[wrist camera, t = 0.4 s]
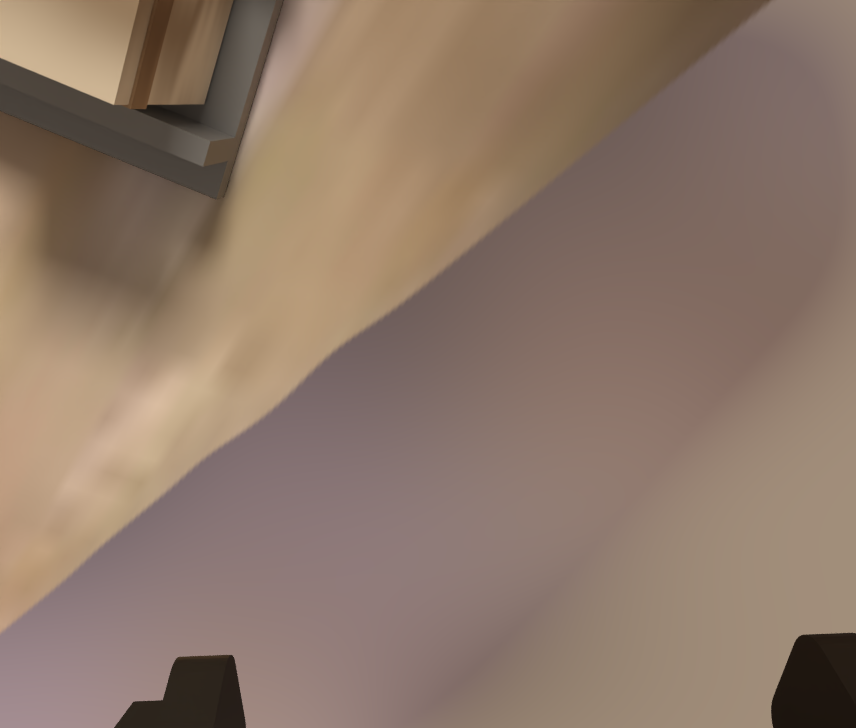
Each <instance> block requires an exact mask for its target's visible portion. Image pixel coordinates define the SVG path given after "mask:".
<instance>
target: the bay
mask: <svg viewBox="0 0 856 728" xmlns="http://www.w3.org/2000/svg"><path fill="white" fill-rule="evenodd" d="M282 3H283V0H233V4H232V7H231V11H230V14H229V18H228V21H227V25H226V29H225V32H224V36H223V39H222V43H221V46H220V50H219V53H218V57H217V60H216V64H215V68H214V71H213V75H212V78H211V82H210V85H209V89H208V92H207V96H206V99H205V103H204V104H182V105H147V108H146V109H129V108H127V107H124V106H122V105H113V104H110V103H108V102H106V101H103V100H101V99H98V98H96V97H94V96H91V95H89V94H86V93H84V92H81V91H79V90H77V89H74V88H72V87H69V86H67V85H65V84H62V83H60V82H57V81H55V80H53V79H50V78H48V77H45V76H43V75H40V74H38V73H36V72H33V71H31V70H28V69H26V68H24V67H21V66H19V65H16V64H14V63H11V62H9V61H7V60H4V59H2V58H0V111H2V112H4V113H6V114H9V115H11V116H14V117H16V118H19V119H21V120H24V121H26V122H28V123H31V124H33V125H36V126H38V127H41V128H43V129H45V130H48V131H50V132H53V133H55V134H58V135H60V136H63V137H65V138H67V139H70V140H72V141H75V142H77V143H80V144H82V145H85V146H87V147H89V148H92V149H94V150H97V151H99V152H102V153H104V154H107V155H109V156H111V157H114V158H116V159H119V160H121V161H124V162H126V163H129V164H131V165H133V166H136V167H138V168H141V169H143V170H146V171H148V172H151V173H153V174H155V175H158V176H160V177H163V178H165V179H168V180H170V181H172V182H175V183H177V184H180V185H182V186H185V187H187V188H190V189H192V190H194V191H197V192H199V193H202V194H204V195H207V196H209V197H212V198H214V199H219V198H222V197H224V195H225V191H226V188H227V185H228V182H229V178H230V175H231V172H232V168H233V165H234V162H235V158H236V155H237V152H238V149H239V145H240V142H241V139H242V135H243V132H244V129H245V125H246V122H247V119H248V115H249V112H250V109H251V106H252V102H253V99H254V96H255V92H256V89H257V86H258V82H259V79H260V76H261V73H262V69H263V66H264V63H265V59H266V56H267V53H268V49H269V46H270V43H271V40H272V36H273V33H274V30H275V26H276V23H277V20H278V16H279V13H280V10H281V6H282Z"/></svg>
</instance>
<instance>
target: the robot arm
mask: <svg viewBox="0 0 856 728" xmlns="http://www.w3.org/2000/svg"><path fill="white" fill-rule="evenodd" d="M771 714H772V724H773V728H856V633H839V634H838V633H837V634H812V635H801V636H799V637H798V638H797V639H796V641H795V643H794V646H793V648H792V651H791V653H790V656H789V658H788V661H787V663H786V666H785V669H784V671H783V674H782V676H781V679H780V682H779V684H778V686H777V689H776V692H775V694H774V697H773V700H772V706H771ZM114 728H246V724H245V717H244V710H243V705H242V699H241V693H240V687H239V682H238V676H237V670H236V664H235V660H234V657H233V656H232V655H217V656H216V655H215V656H190V657H178V658H177V659H176V660H175V662H174V664H173V666H172V669H171V673H170V676H169V680H168V683H167V687H166V691H165V694H164V698H163V700H161V701H137V702H133V703H132V705H131V706H130V707H129V709H128V710H127V711H126V713H125V714H124V715H123V717H122V718H121V719H120V721H119V722H118V723H117V725H116V726H115V727H114Z"/></svg>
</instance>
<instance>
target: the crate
mask: <svg viewBox="0 0 856 728" xmlns="http://www.w3.org/2000/svg"><path fill="white" fill-rule="evenodd" d="M232 4H233V0H0V58H2V59H4V60H7V61H9V62H11V63H14V64H16V65H19V66H21V67H24V68H26V69H28V70H31V71H33V72H36V73H38V74H40V75H43V76H45V77H48V78H50V79H53V80H55V81H57V82H60V83H62V84H65V85H67V86H69V87H72V88H74V89H77V90H79V91H81V92H84V93H86V94H89V95H91V96H94V97H96V98H98V99H101V100H103V101H106V102H108V103H110V104H113V105H122V106H124V107H127V108H129V109H146V108H147V105H182V104H204V103H205V99H206V96H207V92H208V89H209V85H210V82H211V78H212V75H213V71H214V68H215V64H216V60H217V57H218V53H219V50H220V46H221V43H222V39H223V36H224V32H225V29H226V25H227V21H228V18H229V14H230V11H231V7H232Z"/></svg>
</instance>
